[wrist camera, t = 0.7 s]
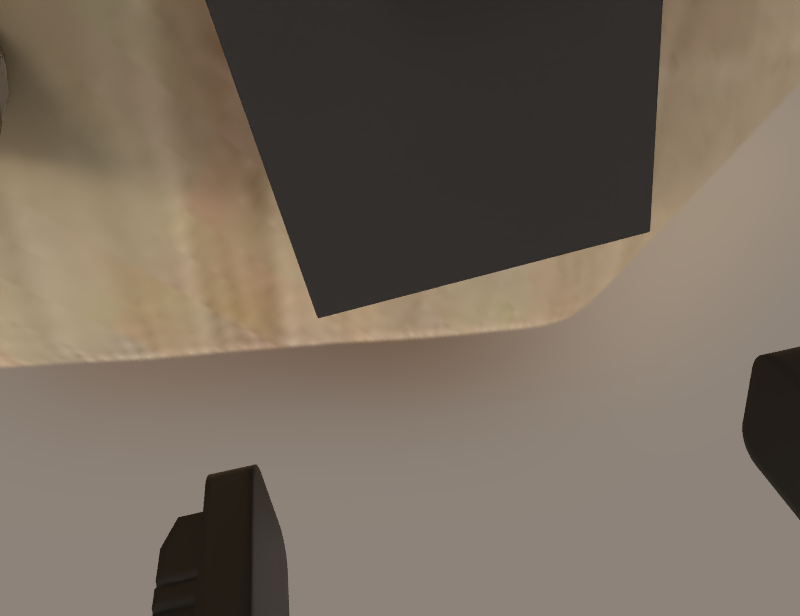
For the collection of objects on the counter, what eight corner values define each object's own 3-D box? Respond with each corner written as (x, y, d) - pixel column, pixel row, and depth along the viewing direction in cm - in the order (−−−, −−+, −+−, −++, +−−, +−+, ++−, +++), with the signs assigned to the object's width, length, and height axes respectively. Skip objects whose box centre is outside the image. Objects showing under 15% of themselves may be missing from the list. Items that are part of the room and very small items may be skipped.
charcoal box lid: (124, -242, 16) (88, -227, 12) (668, -377, 16) (808, -406, 12) (316, 305, 27) (330, 408, 23) (641, 220, 27) (711, 307, 23)
